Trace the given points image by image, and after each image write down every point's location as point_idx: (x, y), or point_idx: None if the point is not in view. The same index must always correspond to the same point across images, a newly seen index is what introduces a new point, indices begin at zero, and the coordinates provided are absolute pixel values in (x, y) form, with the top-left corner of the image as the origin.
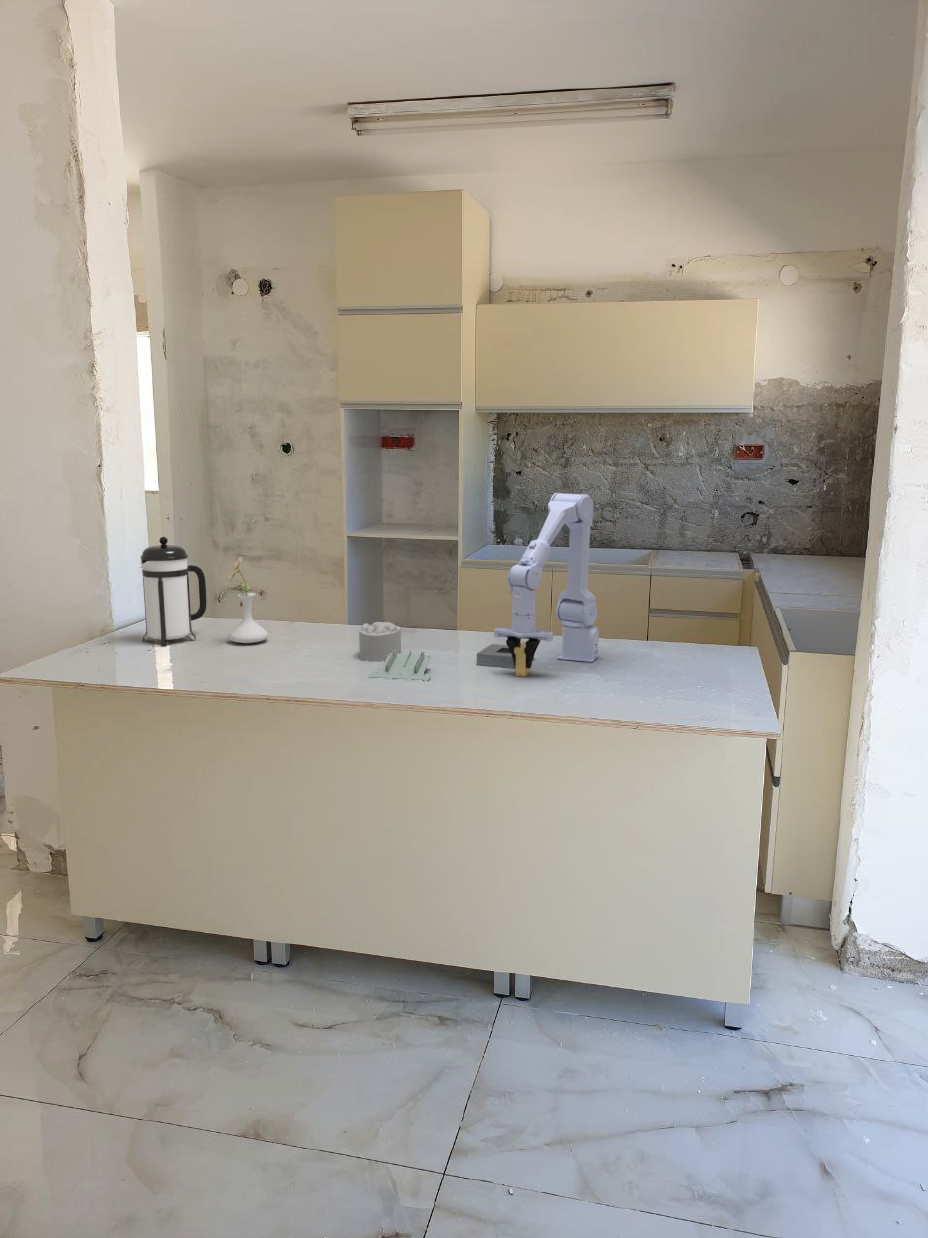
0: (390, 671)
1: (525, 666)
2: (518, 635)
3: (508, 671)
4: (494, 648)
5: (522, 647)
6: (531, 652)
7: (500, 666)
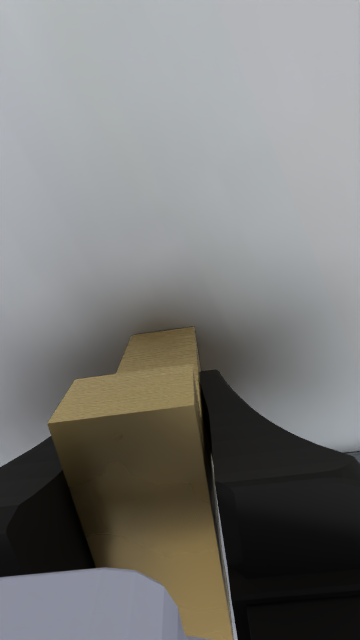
0: None
1: (119, 366)
2: (13, 618)
3: (277, 396)
4: None
5: (94, 455)
6: (27, 455)
7: (356, 455)
